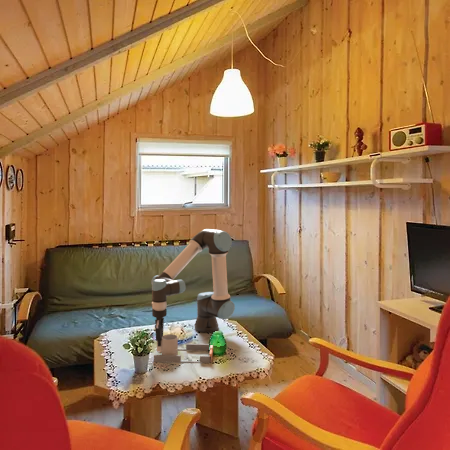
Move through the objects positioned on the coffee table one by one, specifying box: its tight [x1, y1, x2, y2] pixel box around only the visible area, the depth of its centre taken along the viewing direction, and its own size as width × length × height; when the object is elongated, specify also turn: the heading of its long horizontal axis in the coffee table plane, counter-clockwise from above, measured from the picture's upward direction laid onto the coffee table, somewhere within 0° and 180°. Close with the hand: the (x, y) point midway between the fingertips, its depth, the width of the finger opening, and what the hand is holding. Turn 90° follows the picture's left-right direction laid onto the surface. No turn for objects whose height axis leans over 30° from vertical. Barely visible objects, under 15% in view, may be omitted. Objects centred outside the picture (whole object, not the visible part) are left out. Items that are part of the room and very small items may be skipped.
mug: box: [161, 333, 179, 355], centre depth 216 cm, size 12×8×11 cm
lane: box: [153, 343, 214, 364], centre depth 216 cm, size 30×16×5 cm, turn 88°
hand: (159, 351), depth 217 cm, fingers closed
